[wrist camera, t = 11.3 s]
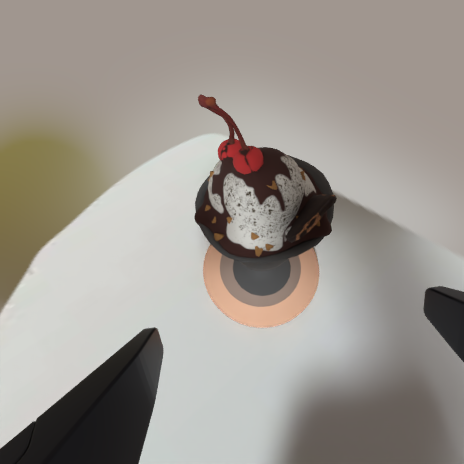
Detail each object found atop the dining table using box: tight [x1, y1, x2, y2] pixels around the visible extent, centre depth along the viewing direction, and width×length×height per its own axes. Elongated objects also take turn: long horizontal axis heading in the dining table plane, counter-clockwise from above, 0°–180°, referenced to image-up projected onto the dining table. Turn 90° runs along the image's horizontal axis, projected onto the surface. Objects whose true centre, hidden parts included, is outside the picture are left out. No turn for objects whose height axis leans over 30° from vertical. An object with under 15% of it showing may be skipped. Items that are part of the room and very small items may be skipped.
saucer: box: [203, 244, 319, 328], centre depth 21 cm, size 10×10×1 cm
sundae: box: [195, 95, 337, 296], centre depth 14 cm, size 7×7×15 cm
